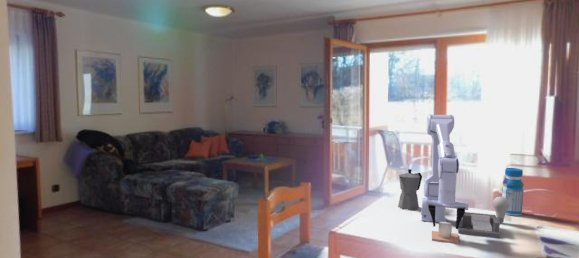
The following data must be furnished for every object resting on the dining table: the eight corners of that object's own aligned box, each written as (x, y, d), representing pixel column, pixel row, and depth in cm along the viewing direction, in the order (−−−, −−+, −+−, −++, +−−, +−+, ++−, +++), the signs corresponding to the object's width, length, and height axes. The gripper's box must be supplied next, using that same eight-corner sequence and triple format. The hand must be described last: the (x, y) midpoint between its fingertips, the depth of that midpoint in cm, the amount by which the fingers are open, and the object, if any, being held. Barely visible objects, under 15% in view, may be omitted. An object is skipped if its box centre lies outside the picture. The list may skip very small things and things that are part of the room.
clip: (473, 229, 143) (473, 220, 143) (471, 222, 150) (471, 214, 150) (492, 231, 141) (492, 222, 141) (488, 224, 148) (489, 215, 148)
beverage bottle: (513, 217, 175) (516, 171, 173) (496, 211, 183) (498, 167, 181) (526, 215, 178) (529, 170, 177) (509, 210, 186) (512, 166, 184)
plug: (438, 237, 147) (438, 224, 147) (438, 233, 151) (439, 221, 151) (451, 238, 146) (451, 226, 145) (451, 235, 150) (451, 222, 149)
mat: (431, 240, 146) (432, 238, 146) (431, 232, 154) (431, 230, 154) (459, 243, 143) (459, 241, 143) (457, 235, 151) (457, 233, 151)
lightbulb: (510, 225, 163) (512, 199, 162) (494, 224, 164) (495, 198, 163) (505, 221, 169) (507, 195, 168) (489, 220, 170) (491, 194, 169)
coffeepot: (407, 212, 180) (409, 172, 179) (390, 207, 188) (392, 168, 187) (428, 207, 189) (430, 168, 188) (412, 202, 197) (413, 165, 196)
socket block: (458, 233, 153) (459, 220, 153) (456, 223, 166) (456, 211, 165) (499, 238, 149) (500, 224, 148) (494, 227, 161) (495, 214, 161)
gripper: (425, 191, 146) (424, 228, 147) (469, 194, 141) (468, 232, 142) (426, 186, 152) (424, 222, 153) (468, 190, 147) (466, 226, 149)
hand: (445, 227), depth 148 cm, fingers open, 7 cm apart
